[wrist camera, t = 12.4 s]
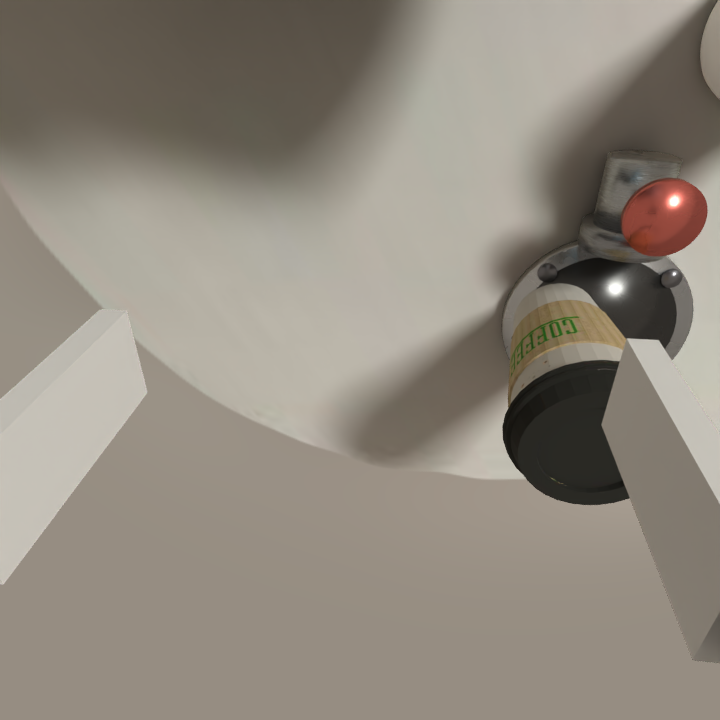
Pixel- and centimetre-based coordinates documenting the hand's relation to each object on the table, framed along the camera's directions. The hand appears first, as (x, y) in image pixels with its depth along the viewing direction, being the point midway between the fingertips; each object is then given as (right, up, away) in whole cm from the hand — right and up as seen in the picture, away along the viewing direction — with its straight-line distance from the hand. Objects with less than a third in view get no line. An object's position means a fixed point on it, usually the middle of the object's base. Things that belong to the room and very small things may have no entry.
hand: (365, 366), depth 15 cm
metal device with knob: (+18, +6, +29) cm, 34 cm away
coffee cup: (+15, +3, +29) cm, 32 cm away
